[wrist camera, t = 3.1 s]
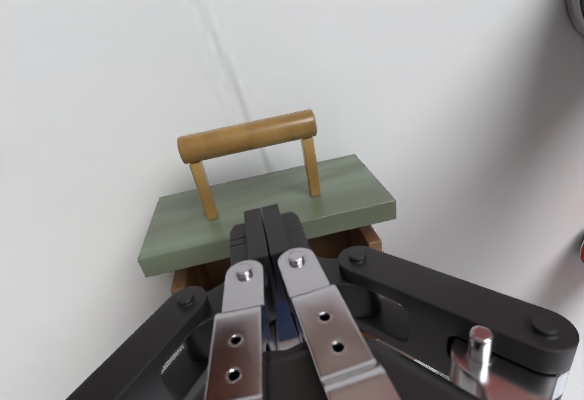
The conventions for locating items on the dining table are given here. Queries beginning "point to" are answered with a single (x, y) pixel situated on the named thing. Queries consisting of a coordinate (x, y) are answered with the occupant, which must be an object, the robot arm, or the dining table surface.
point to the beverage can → (582, 251)
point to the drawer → (261, 202)
